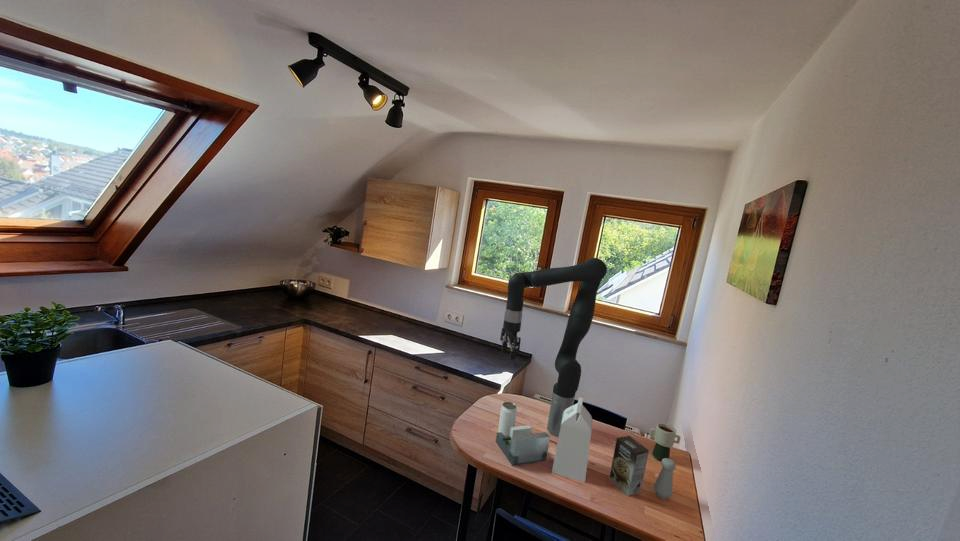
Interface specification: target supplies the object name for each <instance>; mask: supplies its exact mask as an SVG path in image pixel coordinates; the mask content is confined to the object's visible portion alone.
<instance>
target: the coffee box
mask: <svg viewBox="0 0 960 541" xmlns="http://www.w3.org/2000/svg"><path fill="white" fill-rule="evenodd" d="M615 441H616V442H615V446H614V452H613V457H612V463H611V467H610V472H609V478H608V480H610V482H612V483H613V484H614V485H615V486H616V487H618V488H619V489H620V490H621V491H622V492H623V493H624V494H625V495H626V496H627V497H629V496H633V495H637V494H640V493H641V492H642V487H643V481H644V477H645V473H646V466H647V463H648V458H649V454H650V450H649V449H648V448H647V447H645V446H644V445H643V444H642V443H640V442H639V441H637V440H636V439H635V438H633V437H632V436H630V435H626V436H625V435H624V436H620V437H617V438H616V440H615Z"/></svg>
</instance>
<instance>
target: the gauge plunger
mask: <svg viewBox="0 0 960 541" xmlns="http://www.w3.org/2000/svg"><path fill="white" fill-rule="evenodd" d="M532 429H533V427H531V426H530V424H528V425H520V426H515V427H511V430H510V436H508V437H507V436H505V437H504V438H502V441H507V440H509V443H510V445H511V441H512V436H518V435H526V434H531V433H532V431H533V430H532Z"/></svg>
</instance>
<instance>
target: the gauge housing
mask: <svg viewBox="0 0 960 541" xmlns="http://www.w3.org/2000/svg"><path fill="white" fill-rule="evenodd" d="M504 437H506V436H504V435H503V434H502V432H496V436H495V443H496V444H497V446H498V447H499V449H500V450H501V451H502V454H504V456H505V458H506V459H507V460H508V462H509V463H510V465H511V466H512V467H514V466H515V467H516V465H517V466H522V465H528V464H534V463H536V464H537V463H541V462H546V461H547V457H548V451H549V445H550V439H551V438H550V437H551V436H550V435H549V433H547V432H546V431H545V432H538V433H537V432H535V433H532V432H531V434H526V435H518V436H512V441H511V445H510V443H509V440H507V441H502V438H504Z"/></svg>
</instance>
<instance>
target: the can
mask: <svg viewBox="0 0 960 541" xmlns="http://www.w3.org/2000/svg"><path fill="white" fill-rule="evenodd" d="M517 412H518V409H517V405H516V404H515V403H514V402H511V401H506V402H503V403H502V406H501V407H500V414H499V422H498V429H497V430H498V432H497V433H499V432H502V434H503V435H504V436H505V437H510V430H511V427H516V419H517Z"/></svg>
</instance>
